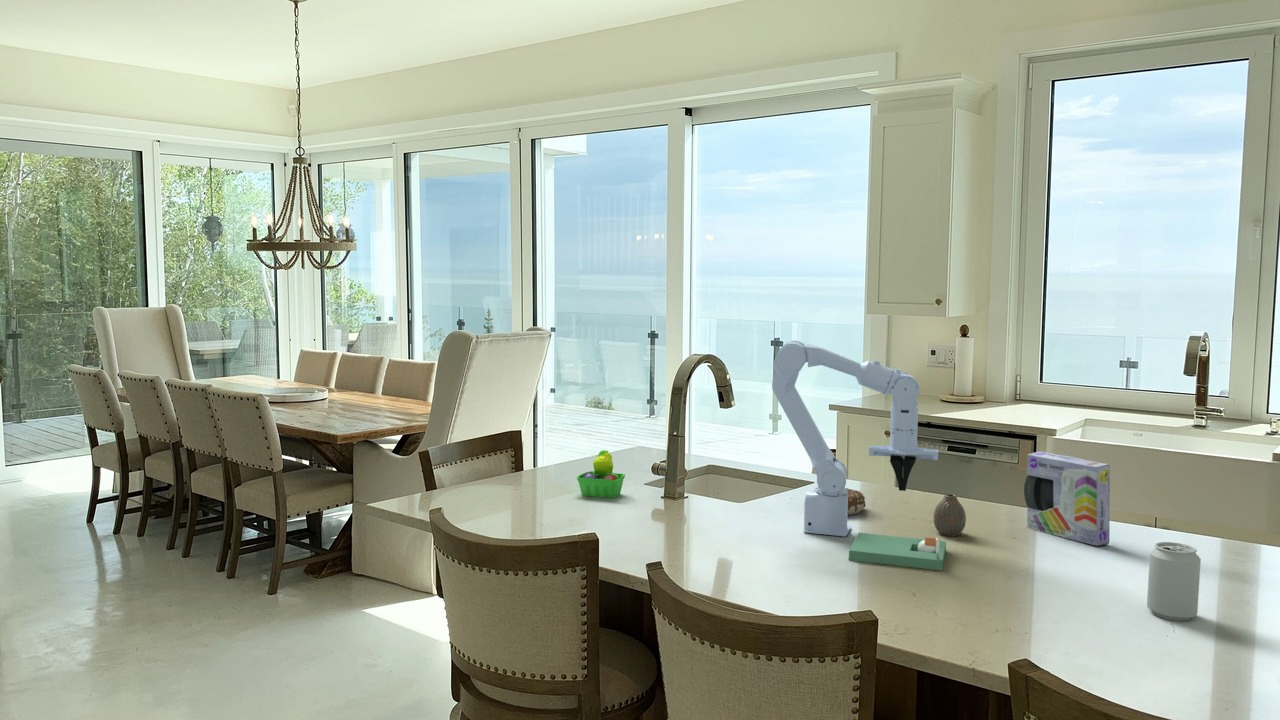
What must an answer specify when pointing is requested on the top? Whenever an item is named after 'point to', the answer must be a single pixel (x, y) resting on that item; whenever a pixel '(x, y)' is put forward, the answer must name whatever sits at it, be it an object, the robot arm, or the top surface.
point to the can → (1173, 581)
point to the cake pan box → (1068, 497)
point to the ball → (925, 547)
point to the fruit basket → (601, 478)
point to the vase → (949, 516)
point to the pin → (933, 544)
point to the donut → (855, 501)
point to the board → (895, 551)
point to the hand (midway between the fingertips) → (902, 489)
